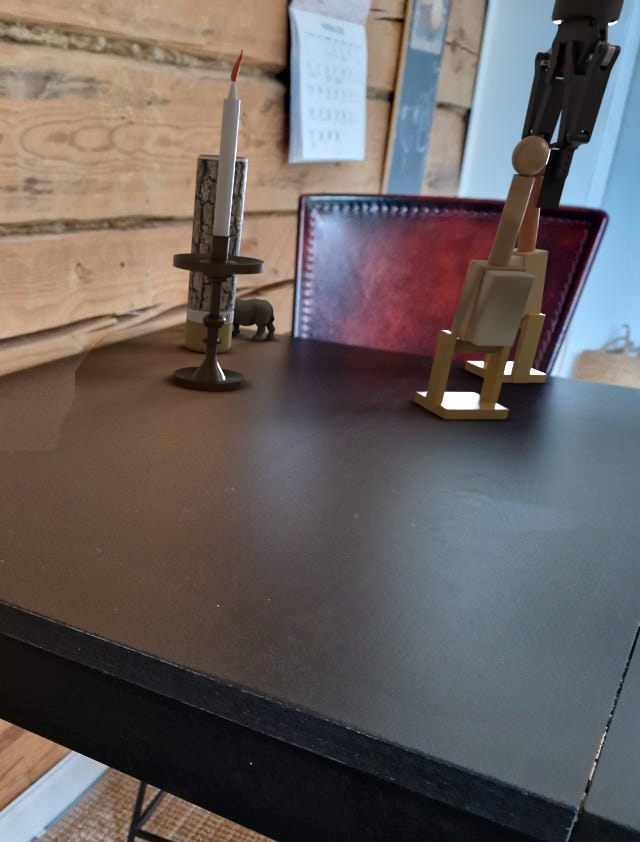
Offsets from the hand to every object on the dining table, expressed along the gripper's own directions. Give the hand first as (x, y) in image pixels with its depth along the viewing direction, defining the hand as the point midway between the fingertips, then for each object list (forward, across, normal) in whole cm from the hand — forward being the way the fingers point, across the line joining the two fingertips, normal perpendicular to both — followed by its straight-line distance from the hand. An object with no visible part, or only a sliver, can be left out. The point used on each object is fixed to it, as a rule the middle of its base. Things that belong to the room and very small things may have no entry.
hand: (537, 206), depth 111 cm
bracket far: (+22, 0, +2) cm, 22 cm away
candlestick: (+22, +5, -44) cm, 49 cm away
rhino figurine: (+22, -26, -31) cm, 46 cm away
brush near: (+4, +23, -16) cm, 28 cm away
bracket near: (+22, +18, -16) cm, 32 cm away
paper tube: (+22, -15, -38) cm, 47 cm away
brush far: (+5, 0, -4) cm, 6 cm away
